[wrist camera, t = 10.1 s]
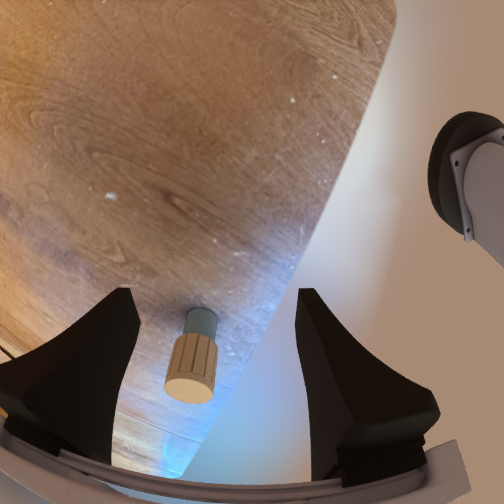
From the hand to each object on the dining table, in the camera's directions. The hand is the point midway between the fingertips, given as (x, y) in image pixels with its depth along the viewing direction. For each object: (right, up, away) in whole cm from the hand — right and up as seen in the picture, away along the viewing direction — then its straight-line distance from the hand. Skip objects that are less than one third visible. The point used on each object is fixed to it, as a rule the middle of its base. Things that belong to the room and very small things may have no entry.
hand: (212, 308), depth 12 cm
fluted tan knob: (-3, -6, +11) cm, 12 cm away
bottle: (-3, -4, +14) cm, 14 cm away
